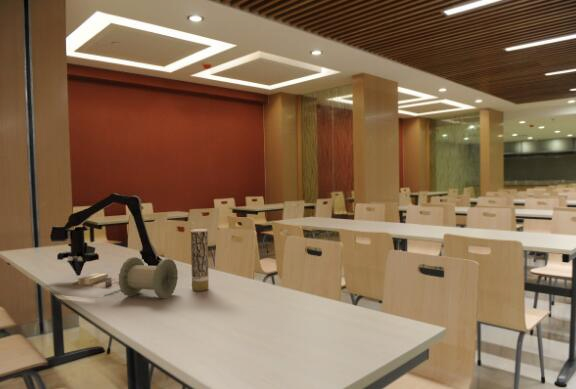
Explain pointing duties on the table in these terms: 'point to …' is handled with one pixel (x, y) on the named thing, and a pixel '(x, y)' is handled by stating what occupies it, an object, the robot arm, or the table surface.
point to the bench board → (103, 283)
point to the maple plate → (92, 279)
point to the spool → (148, 277)
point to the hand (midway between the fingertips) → (78, 275)
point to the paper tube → (199, 259)
